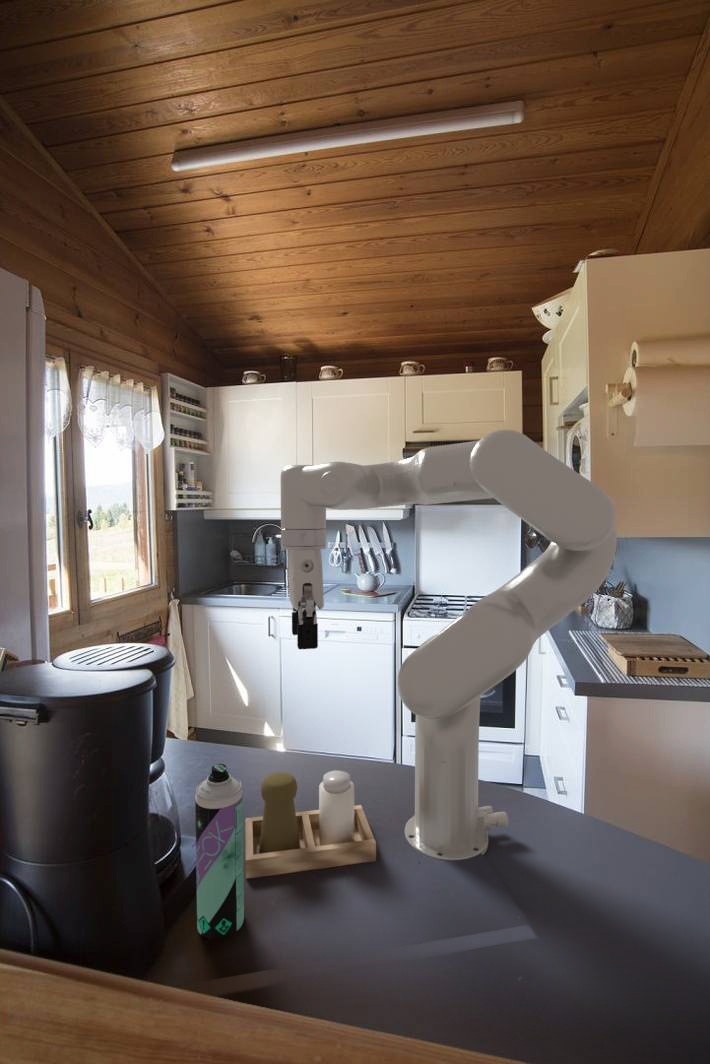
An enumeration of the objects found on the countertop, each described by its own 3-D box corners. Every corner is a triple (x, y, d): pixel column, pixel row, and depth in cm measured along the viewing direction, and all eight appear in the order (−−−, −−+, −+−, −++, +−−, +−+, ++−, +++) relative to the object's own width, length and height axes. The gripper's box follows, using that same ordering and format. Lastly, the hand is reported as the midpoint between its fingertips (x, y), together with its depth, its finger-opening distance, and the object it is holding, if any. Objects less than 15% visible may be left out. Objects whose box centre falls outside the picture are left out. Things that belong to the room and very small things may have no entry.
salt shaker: (350, 830, 83) (350, 767, 83) (357, 851, 78) (357, 784, 77) (317, 834, 82) (316, 770, 82) (322, 856, 77) (321, 788, 76)
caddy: (360, 826, 86) (360, 804, 86) (376, 867, 76) (375, 843, 76) (245, 840, 82) (245, 818, 82) (246, 885, 72) (245, 860, 72)
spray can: (205, 911, 68) (203, 755, 67) (248, 912, 68) (246, 756, 67) (190, 946, 62) (188, 777, 61) (237, 948, 62) (235, 778, 61)
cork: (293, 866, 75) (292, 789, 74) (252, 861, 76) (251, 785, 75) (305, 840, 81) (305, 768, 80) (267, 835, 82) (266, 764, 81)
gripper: (334, 542, 82) (334, 653, 83) (318, 536, 99) (319, 628, 100) (285, 543, 81) (285, 656, 82) (277, 537, 98) (278, 630, 98)
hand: (304, 641), depth 91 cm, fingers open, 9 cm apart
